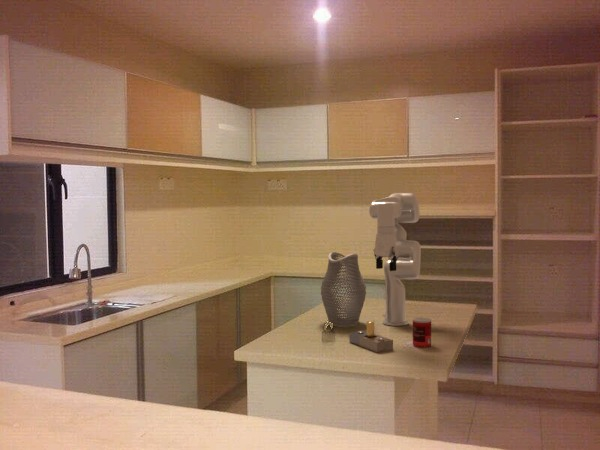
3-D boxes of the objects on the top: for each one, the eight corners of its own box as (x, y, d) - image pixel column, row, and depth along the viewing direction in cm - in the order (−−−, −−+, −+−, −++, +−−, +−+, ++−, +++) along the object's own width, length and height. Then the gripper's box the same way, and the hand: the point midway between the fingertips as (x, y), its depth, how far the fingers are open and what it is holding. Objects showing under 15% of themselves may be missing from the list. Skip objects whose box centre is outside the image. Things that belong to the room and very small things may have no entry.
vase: (313, 325, 282) (312, 254, 281) (332, 317, 302) (331, 250, 300) (355, 330, 272) (355, 255, 270) (372, 321, 291) (372, 251, 290)
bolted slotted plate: (349, 342, 249) (349, 331, 249) (364, 339, 253) (364, 329, 253) (376, 352, 232) (376, 341, 231) (393, 350, 235) (393, 338, 235)
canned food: (428, 342, 247) (428, 317, 246) (433, 347, 239) (433, 321, 238) (410, 343, 246) (410, 317, 246) (415, 348, 238) (415, 321, 238)
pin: (365, 345, 243) (365, 321, 243) (371, 344, 245) (371, 321, 244) (369, 347, 240) (369, 323, 240) (376, 346, 242) (375, 322, 241)
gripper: (367, 230, 260) (367, 268, 261) (391, 231, 245) (391, 272, 245) (381, 229, 263) (381, 267, 264) (405, 231, 248) (405, 271, 249)
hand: (386, 269), depth 255 cm, fingers open, 9 cm apart
